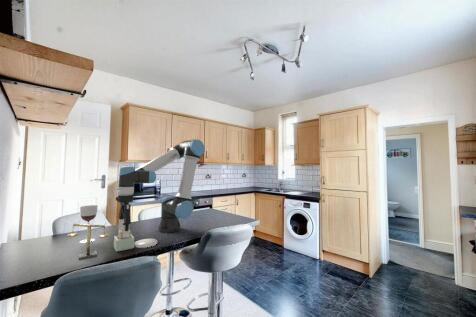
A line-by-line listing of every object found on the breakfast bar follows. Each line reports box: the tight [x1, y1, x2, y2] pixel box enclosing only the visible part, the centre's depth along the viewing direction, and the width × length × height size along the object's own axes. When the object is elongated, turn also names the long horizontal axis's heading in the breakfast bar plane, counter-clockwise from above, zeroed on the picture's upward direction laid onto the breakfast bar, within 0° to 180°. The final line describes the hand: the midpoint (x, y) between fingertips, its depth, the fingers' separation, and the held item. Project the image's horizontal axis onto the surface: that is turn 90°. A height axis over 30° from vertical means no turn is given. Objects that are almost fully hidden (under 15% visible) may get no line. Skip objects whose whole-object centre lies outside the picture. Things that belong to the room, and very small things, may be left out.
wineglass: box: [79, 204, 99, 244], centre depth 125 cm, size 8×9×20 cm
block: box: [117, 229, 131, 240], centre depth 115 cm, size 5×5×9 cm
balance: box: [66, 223, 110, 260], centre depth 103 cm, size 17×5×16 cm, turn 128°
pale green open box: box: [113, 233, 135, 252], centre depth 115 cm, size 8×8×6 cm
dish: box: [134, 238, 159, 249], centre depth 120 cm, size 12×12×1 cm
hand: (123, 234), depth 115 cm, fingers open, 13 cm apart
